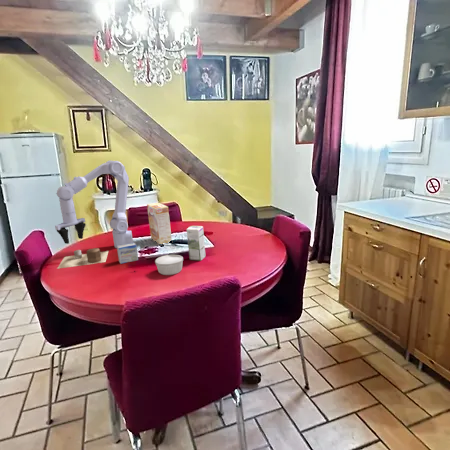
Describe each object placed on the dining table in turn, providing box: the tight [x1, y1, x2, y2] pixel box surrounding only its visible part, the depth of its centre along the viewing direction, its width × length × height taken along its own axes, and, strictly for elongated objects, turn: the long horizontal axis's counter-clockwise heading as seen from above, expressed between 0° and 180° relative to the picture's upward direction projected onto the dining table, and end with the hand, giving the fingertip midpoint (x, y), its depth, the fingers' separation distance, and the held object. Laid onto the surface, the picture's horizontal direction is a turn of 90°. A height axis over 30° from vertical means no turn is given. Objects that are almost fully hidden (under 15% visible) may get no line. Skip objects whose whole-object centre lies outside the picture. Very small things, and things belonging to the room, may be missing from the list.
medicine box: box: [116, 242, 139, 265], centre depth 148 cm, size 8×4×9 cm, turn 118°
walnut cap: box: [85, 247, 101, 264], centre depth 151 cm, size 6×6×5 cm
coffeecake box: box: [146, 202, 173, 245], centre depth 178 cm, size 15×7×20 cm, turn 29°
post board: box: [56, 249, 109, 270], centre depth 154 cm, size 20×16×5 cm
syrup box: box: [186, 225, 206, 261], centre depth 148 cm, size 6×6×14 cm
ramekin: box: [154, 254, 184, 276], centre depth 137 cm, size 11×11×5 cm
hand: (73, 240), depth 157 cm, fingers open, 7 cm apart
